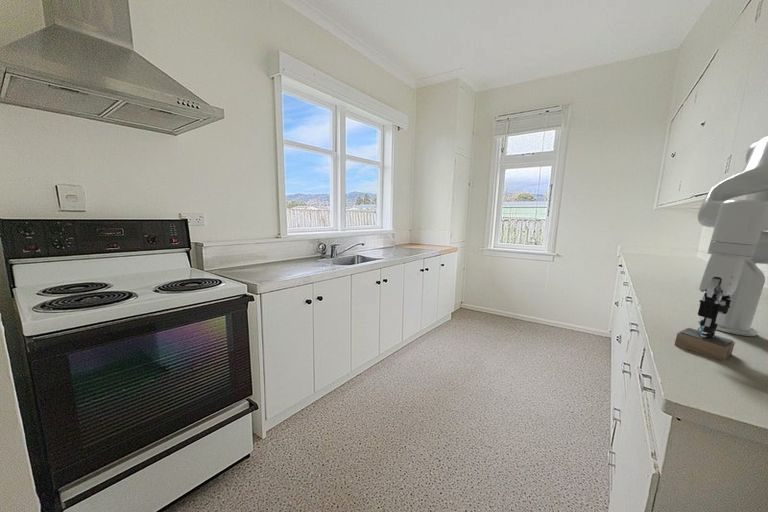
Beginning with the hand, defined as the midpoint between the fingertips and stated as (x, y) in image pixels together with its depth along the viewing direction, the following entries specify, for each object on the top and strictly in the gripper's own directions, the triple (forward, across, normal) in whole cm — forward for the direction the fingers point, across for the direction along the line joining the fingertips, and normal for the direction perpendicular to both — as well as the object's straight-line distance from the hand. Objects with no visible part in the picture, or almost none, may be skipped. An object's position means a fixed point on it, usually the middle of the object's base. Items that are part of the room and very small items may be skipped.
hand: (712, 314), depth 77 cm
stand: (+10, 0, 0) cm, 10 cm away
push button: (+6, 0, 0) cm, 6 cm away
